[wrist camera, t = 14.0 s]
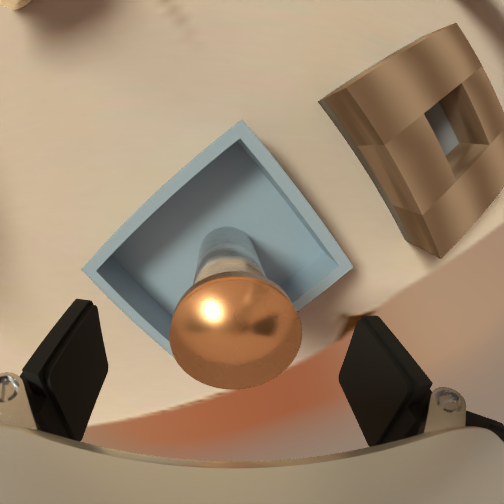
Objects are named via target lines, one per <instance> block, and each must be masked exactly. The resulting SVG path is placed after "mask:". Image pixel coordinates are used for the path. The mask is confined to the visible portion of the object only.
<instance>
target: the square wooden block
mask: <svg viewBox="0 0 504 504" xmlns="http://www.w3.org/2000/svg"><path fill="white" fill-rule="evenodd" d="M318 102H319V104H320V105H321V106H322V108H323V109H324V110H325V112H326V113H327V114H328V116H329V117H330V118H331V120H332V121H333V122H334V124H335V125H336V127H337V128H338V129H339V131H340V132H341V134H342V135H343V136H344V138H345V139H346V141H347V142H348V144H349V145H350V147H351V148H352V150H353V151H354V153H355V154H356V156H357V157H358V159H359V160H360V162H361V163H362V165H363V167H364V168H365V170H366V171H367V173H368V175H369V176H370V178H371V179H372V181H373V183H374V184H375V186H376V188H377V189H378V191H379V193H380V194H381V196H382V198H383V200H384V201H385V203H386V205H387V207H388V208H389V210H390V212H391V214H392V216H393V217H394V219H395V221H396V223H397V225H398V227H399V229H400V231H401V233H402V234H403V236H404V238H405V240H407V241H409V242H411V243H412V244H414V245H416V246H418V247H420V248H422V249H424V250H426V251H427V252H429V253H431V254H433V255H435V256H437V257H438V258H440V259H441V258H442V257H443V256H444V255H445V254H446V253H447V252H448V251H449V250H450V249H451V248H452V247H453V246H454V245H455V244H456V243H457V242H458V241H459V239H460V238H461V237H462V236H463V235H464V234H465V233H466V232H467V231H468V230H469V228H470V227H471V226H472V225H473V224H474V223H475V222H476V220H477V219H478V218H479V217H480V216H481V215H482V213H483V212H484V211H485V210H486V209H487V207H488V206H489V205H490V204H491V203H492V201H493V200H494V199H495V198H496V196H497V195H498V194H499V193H500V191H501V190H502V189H503V187H504V112H503V110H502V107H501V105H500V103H499V100H498V98H497V96H496V93H495V91H494V89H493V87H492V85H491V83H490V81H489V78H488V76H487V74H486V72H485V71H484V69H483V67H482V65H481V63H480V61H479V59H478V57H477V56H476V54H475V52H474V50H473V49H472V47H471V45H470V44H469V42H468V40H467V39H466V37H465V35H464V34H463V32H462V31H461V29H460V28H459V26H458V25H457V23H454V24H452V25H449V26H447V27H444V28H442V29H439V30H437V31H435V32H432V33H430V34H428V35H425V36H423V37H421V38H419V39H417V40H415V41H414V42H412V43H410V44H408V45H407V46H405V47H403V48H401V49H400V50H398V51H396V52H394V53H393V54H391V55H389V56H388V57H386V58H384V59H383V60H381V61H379V62H378V63H376V64H375V65H373V66H371V67H370V68H368V69H366V70H365V71H363V72H362V73H360V74H359V75H357V76H355V77H354V78H352V79H351V80H349V81H348V82H346V83H345V84H343V85H342V86H340V87H339V88H337V89H336V90H334V91H333V92H331V93H330V94H328V95H327V96H325V97H324V98H322V99H321V100H320V101H318Z"/></svg>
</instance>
